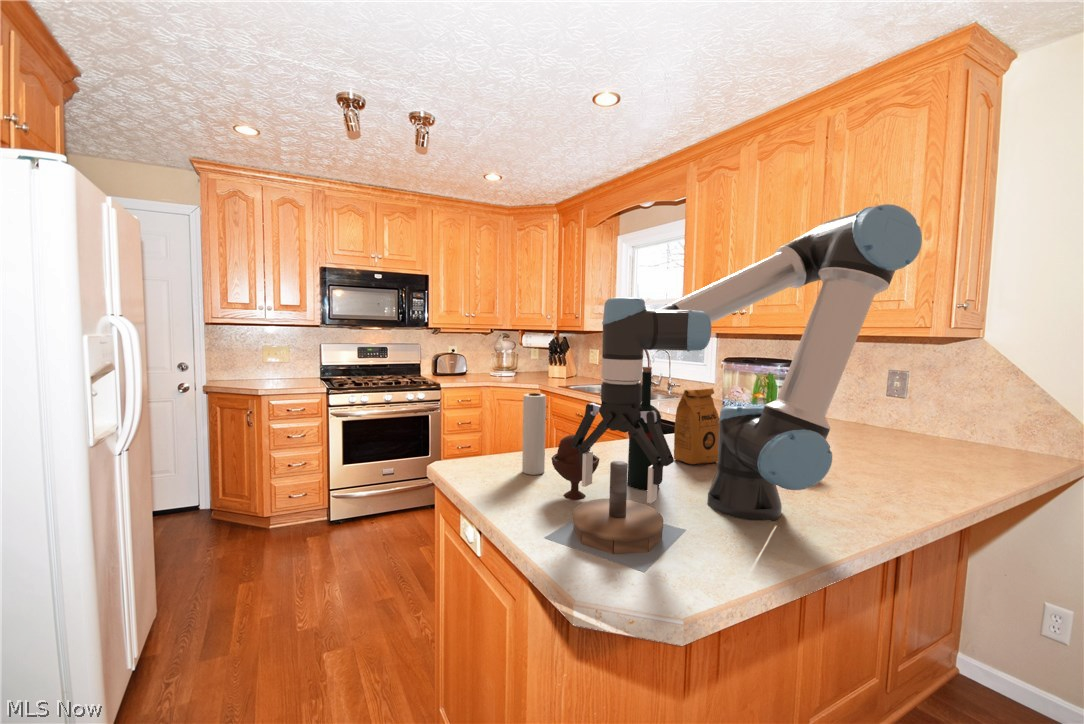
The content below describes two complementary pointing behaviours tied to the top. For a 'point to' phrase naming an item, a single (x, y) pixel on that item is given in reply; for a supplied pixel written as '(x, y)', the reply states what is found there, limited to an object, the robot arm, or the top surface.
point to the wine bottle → (636, 456)
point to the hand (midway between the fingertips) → (618, 492)
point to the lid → (618, 519)
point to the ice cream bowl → (570, 467)
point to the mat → (631, 560)
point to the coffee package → (696, 428)
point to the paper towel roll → (534, 433)
